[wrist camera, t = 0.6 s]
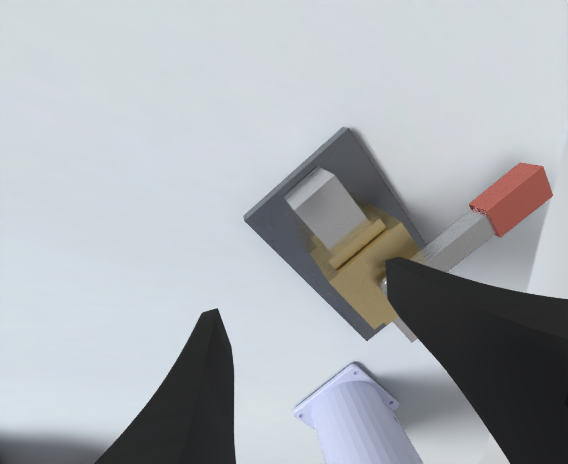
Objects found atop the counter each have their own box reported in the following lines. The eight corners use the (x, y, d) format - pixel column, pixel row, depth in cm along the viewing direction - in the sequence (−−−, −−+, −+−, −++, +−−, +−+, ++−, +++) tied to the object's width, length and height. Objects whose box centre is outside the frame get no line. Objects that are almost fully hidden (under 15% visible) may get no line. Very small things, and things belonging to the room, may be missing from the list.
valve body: (439, 271, 26) (486, 305, 21) (361, 333, 27) (390, 378, 22) (342, 127, 19) (380, 131, 15) (243, 216, 20) (250, 246, 16)
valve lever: (388, 298, 19) (402, 314, 17) (371, 278, 18) (385, 293, 16) (524, 188, 18) (553, 195, 16) (514, 161, 17) (543, 166, 15)
